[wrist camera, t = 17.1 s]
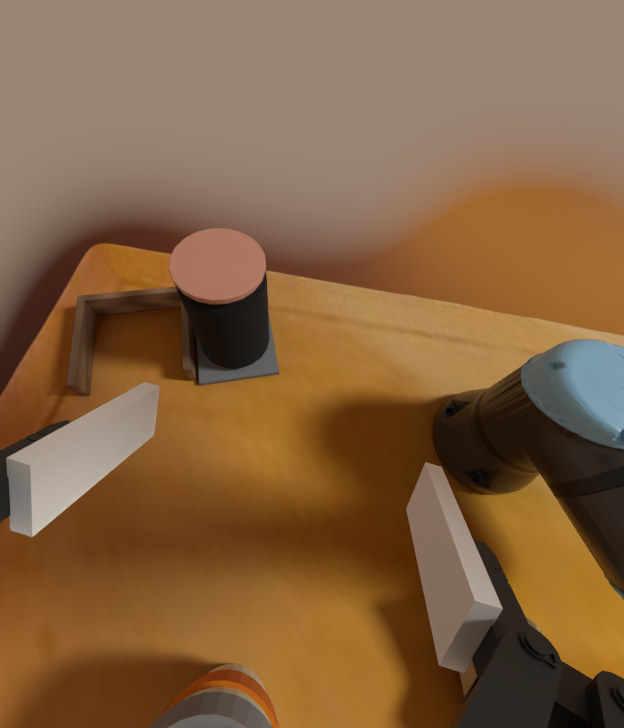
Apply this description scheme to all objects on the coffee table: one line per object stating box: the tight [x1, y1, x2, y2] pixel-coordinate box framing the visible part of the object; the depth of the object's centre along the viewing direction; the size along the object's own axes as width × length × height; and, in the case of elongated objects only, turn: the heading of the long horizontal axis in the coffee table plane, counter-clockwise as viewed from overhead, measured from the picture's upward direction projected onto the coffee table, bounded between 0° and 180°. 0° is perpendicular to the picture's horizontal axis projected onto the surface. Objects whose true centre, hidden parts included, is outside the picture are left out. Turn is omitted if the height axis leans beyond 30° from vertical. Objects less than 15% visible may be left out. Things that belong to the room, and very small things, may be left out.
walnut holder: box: [66, 287, 197, 396], centre depth 50 cm, size 16×15×4 cm
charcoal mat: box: [196, 313, 279, 386], centre depth 53 cm, size 12×13×1 cm
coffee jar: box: [169, 228, 270, 369], centre depth 45 cm, size 11×11×18 cm
